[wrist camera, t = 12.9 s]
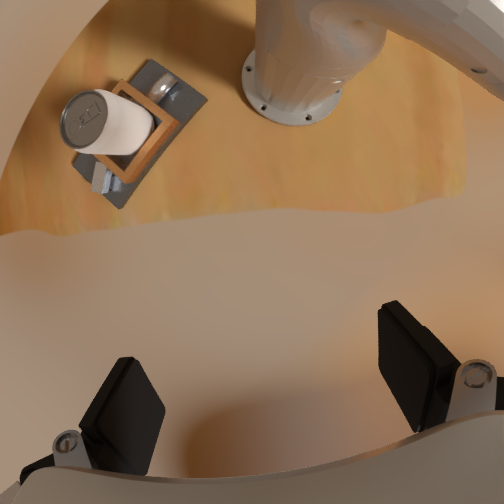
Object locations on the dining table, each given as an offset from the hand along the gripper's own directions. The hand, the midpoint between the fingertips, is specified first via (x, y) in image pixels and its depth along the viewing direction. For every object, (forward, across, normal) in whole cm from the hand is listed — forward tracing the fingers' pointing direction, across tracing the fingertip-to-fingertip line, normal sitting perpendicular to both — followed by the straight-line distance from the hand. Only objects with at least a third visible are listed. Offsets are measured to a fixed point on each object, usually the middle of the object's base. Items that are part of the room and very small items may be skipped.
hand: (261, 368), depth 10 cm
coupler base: (+27, +12, -16) cm, 34 cm away
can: (+26, +12, -16) cm, 33 cm away
